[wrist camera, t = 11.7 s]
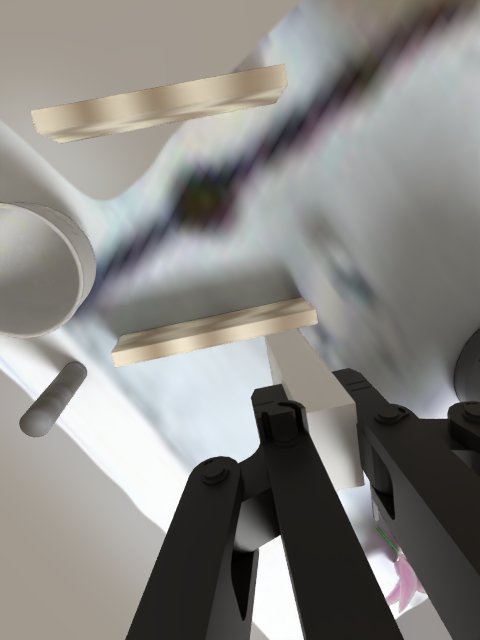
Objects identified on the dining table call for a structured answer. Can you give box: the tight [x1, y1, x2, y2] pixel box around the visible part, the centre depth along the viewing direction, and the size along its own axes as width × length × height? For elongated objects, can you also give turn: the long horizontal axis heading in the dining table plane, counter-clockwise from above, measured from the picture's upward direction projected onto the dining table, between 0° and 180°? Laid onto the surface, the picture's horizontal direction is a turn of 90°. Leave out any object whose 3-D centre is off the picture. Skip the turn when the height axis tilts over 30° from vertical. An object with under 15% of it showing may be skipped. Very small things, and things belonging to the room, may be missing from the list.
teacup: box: [0, 202, 96, 338], centre depth 31 cm, size 14×11×8 cm
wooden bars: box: [19, 64, 318, 437], centre depth 31 cm, size 27×27×10 cm
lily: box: [376, 527, 427, 613], centre depth 48 cm, size 12×12×10 cm
